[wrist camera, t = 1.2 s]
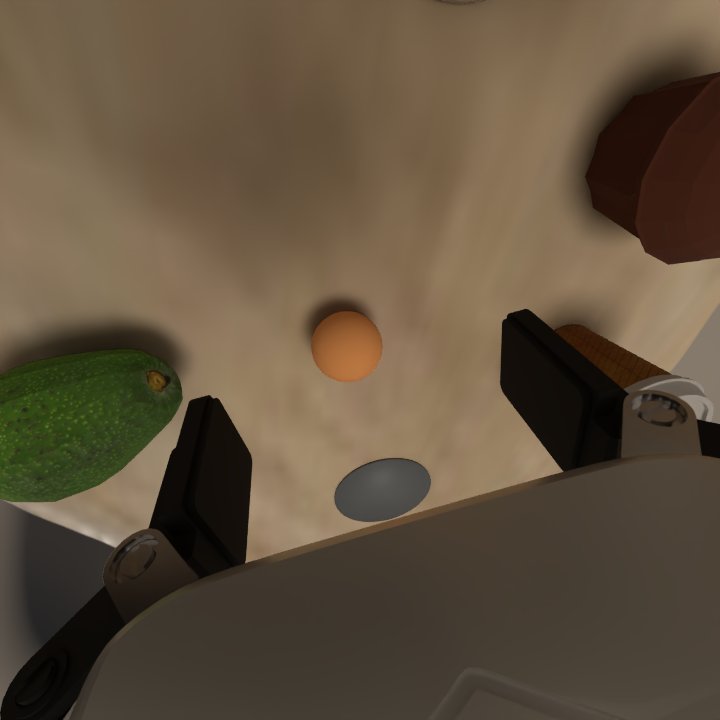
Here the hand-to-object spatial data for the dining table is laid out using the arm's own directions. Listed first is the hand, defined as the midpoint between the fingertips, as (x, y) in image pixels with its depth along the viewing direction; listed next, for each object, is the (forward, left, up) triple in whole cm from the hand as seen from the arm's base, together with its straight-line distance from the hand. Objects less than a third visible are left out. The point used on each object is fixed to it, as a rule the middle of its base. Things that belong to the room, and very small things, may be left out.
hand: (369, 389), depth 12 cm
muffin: (+1, +25, -19) cm, 31 cm away
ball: (+9, 0, -16) cm, 18 cm away
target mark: (+33, 0, -18) cm, 38 cm away
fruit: (+8, -20, -19) cm, 29 cm away
